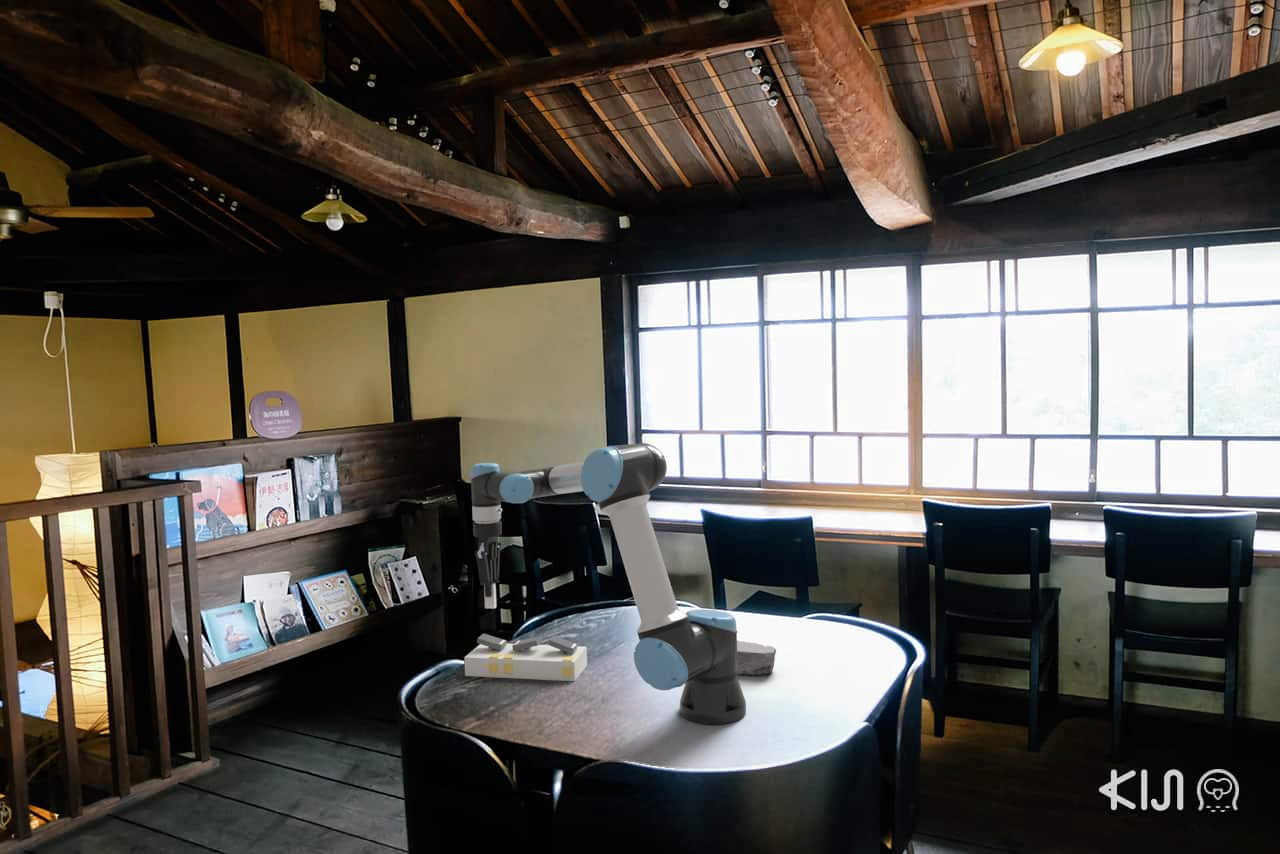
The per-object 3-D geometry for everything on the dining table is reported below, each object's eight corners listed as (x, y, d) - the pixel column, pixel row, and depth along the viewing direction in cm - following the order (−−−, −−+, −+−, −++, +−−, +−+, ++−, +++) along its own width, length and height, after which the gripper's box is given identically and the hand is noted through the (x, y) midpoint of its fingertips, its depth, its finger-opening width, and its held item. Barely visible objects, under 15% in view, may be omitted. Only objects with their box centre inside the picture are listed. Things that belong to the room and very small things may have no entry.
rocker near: (572, 654, 213) (574, 649, 213) (548, 644, 214) (549, 639, 214) (576, 649, 217) (578, 644, 217) (552, 640, 218) (554, 634, 218)
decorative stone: (718, 665, 217) (719, 678, 207) (718, 639, 217) (719, 651, 207) (774, 666, 216) (777, 678, 206) (774, 640, 216) (777, 651, 206)
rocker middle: (537, 645, 215) (536, 640, 215) (513, 650, 216) (511, 645, 216) (542, 640, 219) (540, 635, 219) (518, 646, 220) (517, 640, 220)
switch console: (574, 681, 208) (573, 658, 207) (464, 676, 214) (463, 653, 213) (587, 664, 220) (586, 643, 219) (482, 660, 226) (482, 638, 225)
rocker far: (500, 650, 217) (502, 645, 217) (476, 643, 218) (477, 637, 218) (506, 645, 221) (507, 640, 221) (482, 638, 222) (483, 632, 222)
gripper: (491, 525, 210) (494, 615, 212) (509, 516, 223) (512, 601, 224) (464, 525, 212) (467, 614, 213) (483, 516, 224) (486, 600, 226)
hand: (490, 607), depth 219 cm, fingers closed
